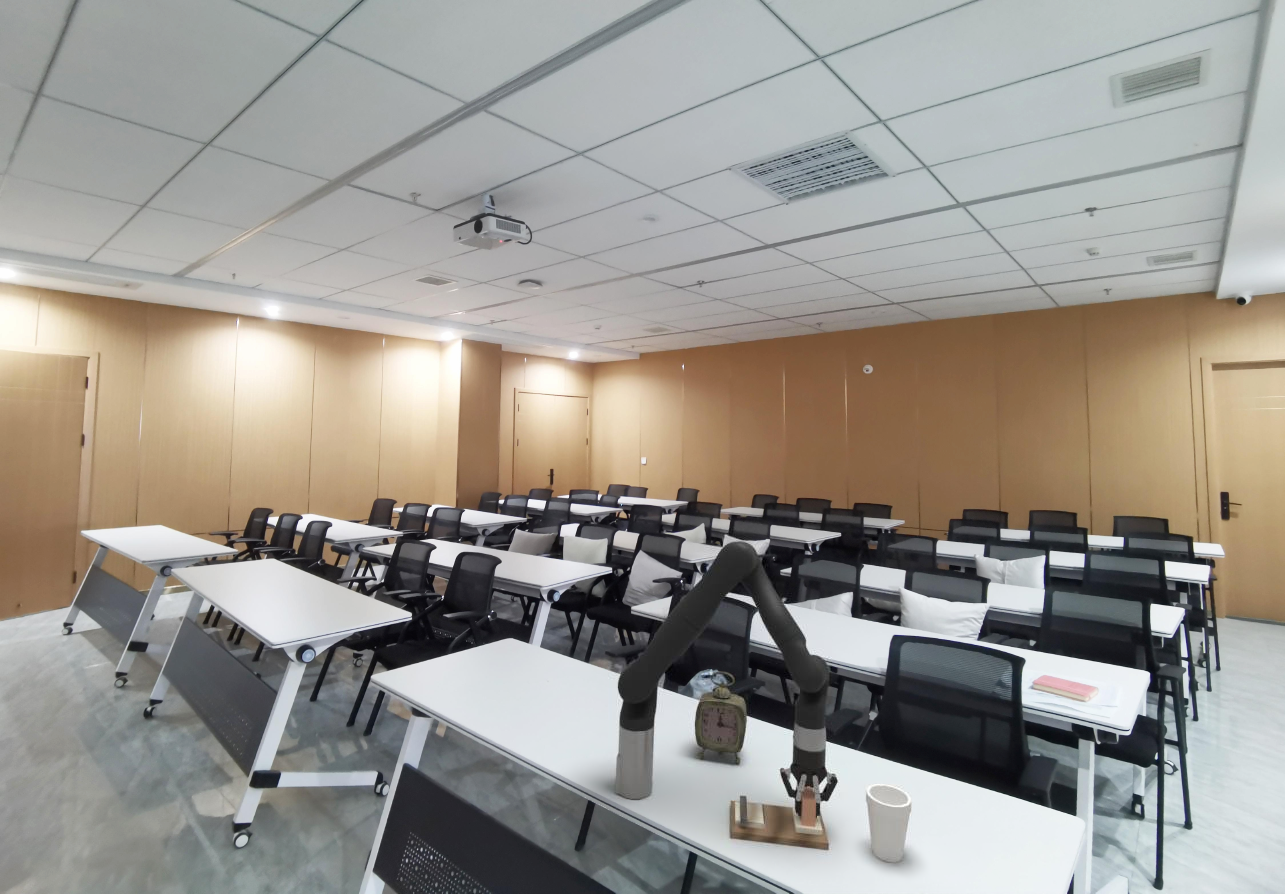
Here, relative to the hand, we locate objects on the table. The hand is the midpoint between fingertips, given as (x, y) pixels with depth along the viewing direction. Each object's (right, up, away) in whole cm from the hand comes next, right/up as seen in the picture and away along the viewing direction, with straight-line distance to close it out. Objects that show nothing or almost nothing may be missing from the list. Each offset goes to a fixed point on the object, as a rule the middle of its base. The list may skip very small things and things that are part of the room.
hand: (807, 814), depth 145 cm
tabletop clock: (-16, -4, +35) cm, 38 cm away
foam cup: (+16, -4, -7) cm, 18 cm away
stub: (0, -2, 0) cm, 2 cm away
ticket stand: (-7, -3, +1) cm, 8 cm away
